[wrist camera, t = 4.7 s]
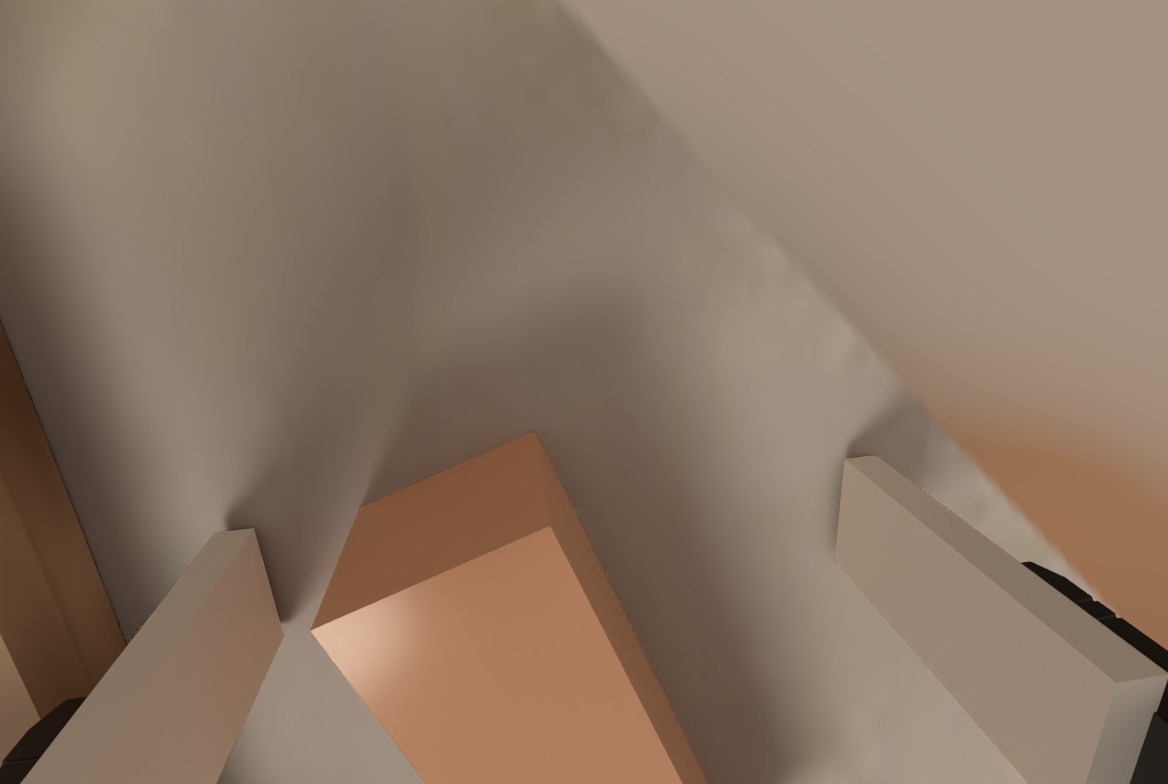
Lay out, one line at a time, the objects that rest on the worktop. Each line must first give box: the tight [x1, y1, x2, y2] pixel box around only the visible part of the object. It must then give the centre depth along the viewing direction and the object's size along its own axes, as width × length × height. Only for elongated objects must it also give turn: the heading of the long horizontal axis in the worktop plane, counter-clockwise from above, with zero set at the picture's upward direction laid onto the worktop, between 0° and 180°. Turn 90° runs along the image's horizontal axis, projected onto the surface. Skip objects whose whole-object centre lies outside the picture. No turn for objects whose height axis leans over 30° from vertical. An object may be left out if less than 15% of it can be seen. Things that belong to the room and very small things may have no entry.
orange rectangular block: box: [310, 431, 708, 784], centre depth 14 cm, size 14×4×4 cm, turn 22°
